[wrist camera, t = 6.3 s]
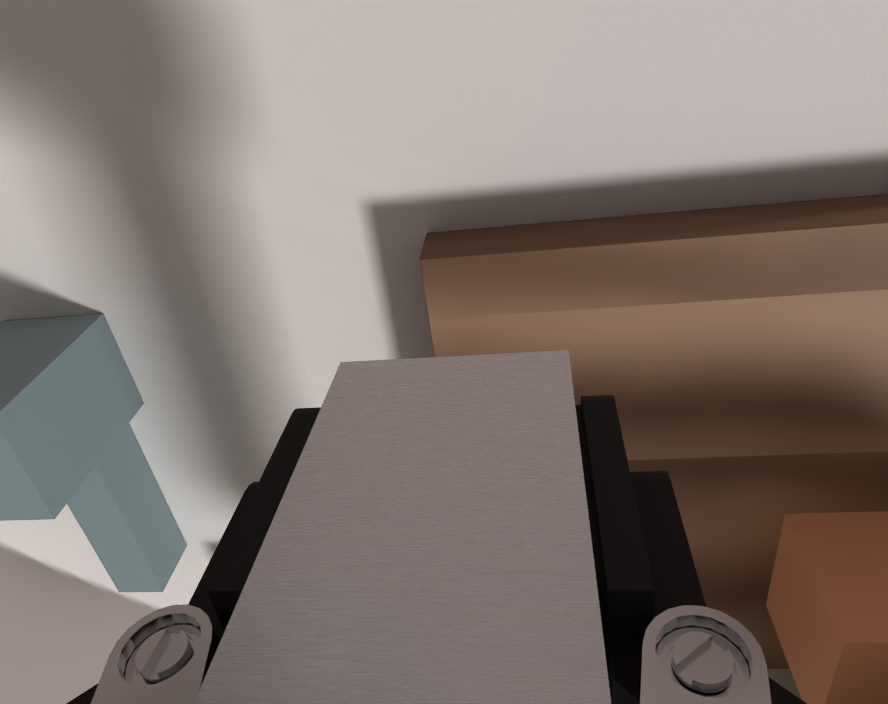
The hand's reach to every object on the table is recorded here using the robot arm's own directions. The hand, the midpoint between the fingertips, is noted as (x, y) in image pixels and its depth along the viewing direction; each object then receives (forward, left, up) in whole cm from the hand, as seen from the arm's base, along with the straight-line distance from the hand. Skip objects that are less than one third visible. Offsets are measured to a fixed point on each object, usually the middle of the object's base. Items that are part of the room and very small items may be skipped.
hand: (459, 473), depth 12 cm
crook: (+8, +3, -1) cm, 9 cm away
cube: (+13, +12, -9) cm, 20 cm away
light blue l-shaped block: (+8, -16, -11) cm, 21 cm away
